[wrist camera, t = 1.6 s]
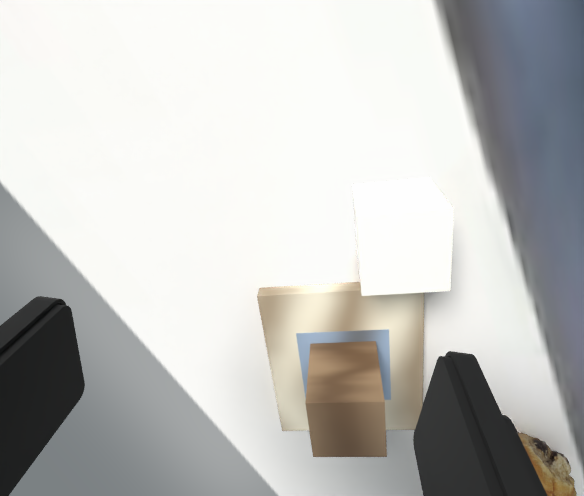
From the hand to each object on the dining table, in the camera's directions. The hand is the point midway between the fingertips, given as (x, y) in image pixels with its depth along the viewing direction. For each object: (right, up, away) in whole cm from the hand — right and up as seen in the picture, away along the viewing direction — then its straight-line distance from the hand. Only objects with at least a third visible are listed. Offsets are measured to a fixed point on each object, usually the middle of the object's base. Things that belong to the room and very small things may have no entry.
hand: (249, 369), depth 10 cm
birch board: (+5, -6, +23) cm, 24 cm away
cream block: (+8, +5, +17) cm, 20 cm away
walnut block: (+5, -6, +22) cm, 23 cm away
